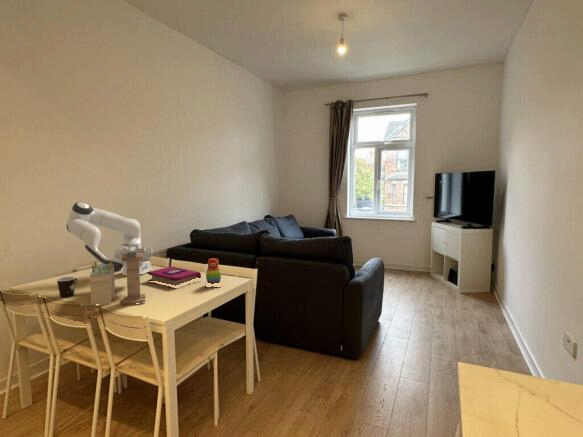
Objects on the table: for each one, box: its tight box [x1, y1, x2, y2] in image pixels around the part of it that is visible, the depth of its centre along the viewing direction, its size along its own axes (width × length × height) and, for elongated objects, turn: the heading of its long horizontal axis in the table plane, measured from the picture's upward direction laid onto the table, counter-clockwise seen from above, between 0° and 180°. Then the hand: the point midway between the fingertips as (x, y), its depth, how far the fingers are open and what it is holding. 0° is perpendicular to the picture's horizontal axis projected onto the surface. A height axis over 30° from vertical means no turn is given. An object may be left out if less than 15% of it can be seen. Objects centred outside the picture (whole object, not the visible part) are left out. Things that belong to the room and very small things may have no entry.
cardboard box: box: [89, 260, 116, 306], centre depth 187 cm, size 22×9×20 cm, turn 22°
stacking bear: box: [205, 257, 222, 284], centre depth 214 cm, size 11×10×18 cm
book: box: [147, 265, 202, 286], centre depth 223 cm, size 21×28×8 cm
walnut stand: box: [121, 253, 146, 307], centre depth 183 cm, size 11×11×26 cm
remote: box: [127, 245, 138, 258], centre depth 184 cm, size 22×4×3 cm, turn 22°
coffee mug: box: [56, 276, 78, 299], centre depth 192 cm, size 12×9×10 cm
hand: (133, 248), depth 192 cm, fingers open, 8 cm apart
